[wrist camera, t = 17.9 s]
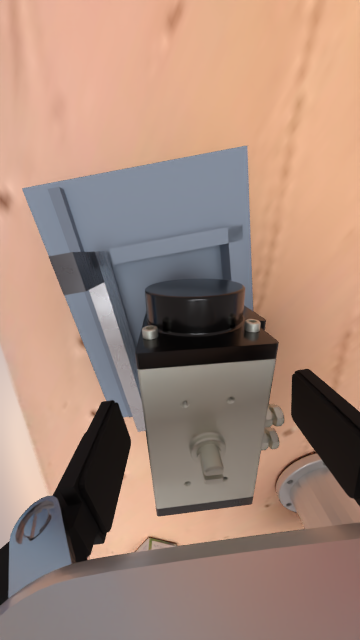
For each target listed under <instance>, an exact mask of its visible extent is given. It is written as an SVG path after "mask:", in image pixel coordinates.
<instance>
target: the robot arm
mask: <svg viewBox="0 0 360 640" xmlns="http://www.w3.org/2000/svg"><path fill="white" fill-rule="evenodd" d="M291 415H292V418H293V420H294V422H295V423H296V425H297V426H298V428H299V429H300V430H301V432H302V433H303V435H304V436H305V437H306V439H307V440H308V441H309V443H310V444H311V446H312V447H313V448H314V450H315V451H316V454H312V455H309V456H306V457H304V458H301V459H300V460H298V461H296V462H294V463H293V464H291V465H290V466H289V467H287V468H286V469H285V470H284V471H283V472H282V474H281V475H280V476H279V478H278V481H277V483H276V493H277V495H278V498H279V500H280V502H281V503H282V505H283V506H284V507H286V508H287V509H289V510H291V511H294V512H297V513H298V515H299V517H300V519H301V521H302V524H303V526H304V528H305V529H303V530H295V531H287V532H279V533H271V534H264V535H256V536H249V537H241V538H234V539H226V540H219V541H212V542H204V543H197V544H190V545H182V546H175V547H168V548H161V549H154V550H147V551H140V552H133V553H127V554H121V555H115V556H109V557H102V558H96V559H91V560H90V557H89V555H90V554H91V551H92V548H93V545H95V544H103V543H104V541H105V537H106V533H107V532H109V531H110V529H111V527H112V523H113V519H114V514H115V510H116V506H117V502H118V497H119V493H120V489H121V485H122V480H123V476H124V472H125V467H126V463H127V459H128V455H129V450H130V446H131V439H130V436H129V433H128V430H127V427H126V424H125V422H124V419H123V416H122V413H121V410H120V407H119V404H118V403H117V402H116V403H115V401H114V400H110V401H104V402H102V403H101V404H100V406H99V408H98V410H97V412H96V414H95V416H94V418H93V420H92V422H91V424H90V426H89V428H88V430H87V432H86V433H85V434H84V436H83V437H82V439H81V441H80V443H79V445H78V447H77V449H76V451H75V453H74V455H73V457H72V459H71V461H70V463H69V465H68V467H67V469H66V471H65V473H64V475H63V477H62V479H61V481H60V482H59V484H58V486H57V488H56V490H55V492H54V494H53V496H46V497H43V498H41V499H39V500H38V501H37V502H35V503H33V504H32V505H31V506H30V507H29V508H28V509H27V510H26V511H25V512H24V513H23V514H22V515H21V517H20V518H19V520H18V521H17V523H16V524H15V526H14V528H13V531H12V533H11V536H10V541H9V542H8V543H7V544H6V545H5V546H3V547H2V548H1V549H0V640H360V412H359V411H358V410H357V409H356V408H354V407H353V406H352V405H351V404H350V403H348V402H347V401H346V400H345V399H344V398H343V397H341V396H340V395H339V394H338V393H337V392H335V391H334V390H333V389H332V388H331V387H329V386H328V385H327V384H326V383H325V382H324V381H322V380H321V379H320V378H319V377H318V376H316V375H315V374H314V373H313V372H312V371H311V370H309V369H304V370H297V371H295V374H293V375H292V403H291Z"/></svg>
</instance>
